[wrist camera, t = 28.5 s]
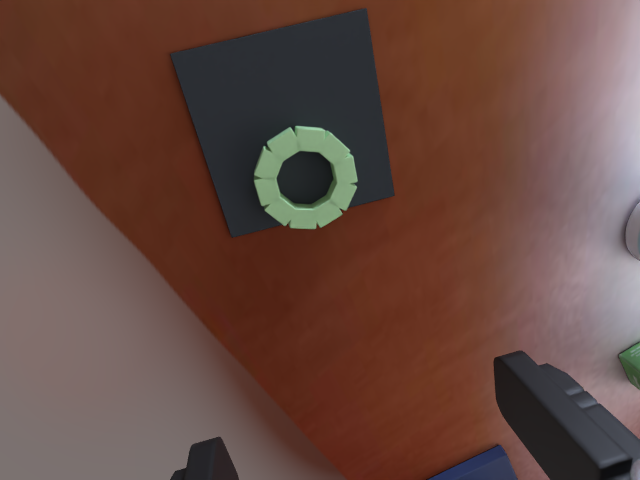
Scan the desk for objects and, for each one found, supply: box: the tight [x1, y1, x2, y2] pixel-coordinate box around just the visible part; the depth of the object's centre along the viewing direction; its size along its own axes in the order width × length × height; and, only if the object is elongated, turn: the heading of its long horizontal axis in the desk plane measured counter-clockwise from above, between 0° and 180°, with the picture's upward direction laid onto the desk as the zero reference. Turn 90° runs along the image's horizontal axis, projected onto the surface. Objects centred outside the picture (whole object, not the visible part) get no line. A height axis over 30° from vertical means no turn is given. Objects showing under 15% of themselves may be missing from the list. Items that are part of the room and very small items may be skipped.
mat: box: [170, 8, 394, 237], centre depth 26 cm, size 12×12×1 cm
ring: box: [254, 126, 358, 229], centre depth 26 cm, size 7×7×1 cm
